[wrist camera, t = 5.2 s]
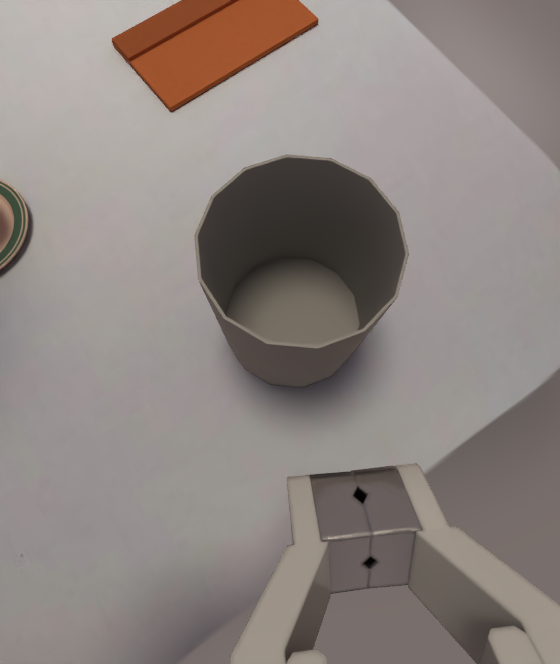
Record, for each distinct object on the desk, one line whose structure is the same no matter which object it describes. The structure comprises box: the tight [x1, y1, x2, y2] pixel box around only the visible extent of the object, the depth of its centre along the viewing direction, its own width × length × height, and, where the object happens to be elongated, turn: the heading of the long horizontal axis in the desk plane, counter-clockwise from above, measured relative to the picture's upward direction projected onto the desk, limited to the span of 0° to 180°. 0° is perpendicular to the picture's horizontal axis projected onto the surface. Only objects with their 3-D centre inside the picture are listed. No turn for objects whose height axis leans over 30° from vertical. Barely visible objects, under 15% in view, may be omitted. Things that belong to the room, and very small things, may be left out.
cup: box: [195, 155, 409, 387], centre depth 21 cm, size 8×8×10 cm
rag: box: [112, 0, 318, 112], centre depth 32 cm, size 14×8×1 cm, turn 128°
